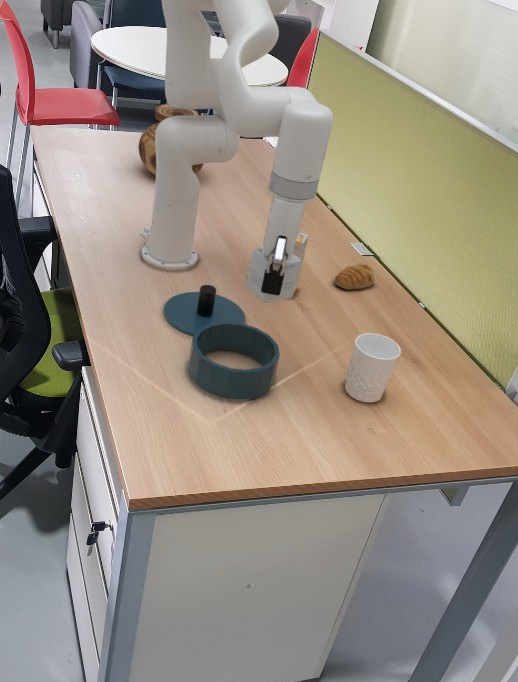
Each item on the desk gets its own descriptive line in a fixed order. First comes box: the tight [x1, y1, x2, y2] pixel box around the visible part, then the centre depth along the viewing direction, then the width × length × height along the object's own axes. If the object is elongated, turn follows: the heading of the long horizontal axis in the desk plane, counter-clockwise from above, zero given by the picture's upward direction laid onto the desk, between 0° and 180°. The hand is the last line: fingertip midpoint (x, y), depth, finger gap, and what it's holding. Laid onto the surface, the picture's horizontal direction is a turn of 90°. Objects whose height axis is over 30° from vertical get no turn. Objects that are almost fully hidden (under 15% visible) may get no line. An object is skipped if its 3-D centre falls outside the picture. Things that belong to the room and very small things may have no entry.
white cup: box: [344, 332, 402, 404], centre depth 131 cm, size 8×8×10 cm
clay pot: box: [138, 103, 205, 176], centre depth 203 cm, size 19×19×20 cm
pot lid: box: [163, 284, 246, 337], centre depth 146 cm, size 16×16×7 cm
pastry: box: [334, 262, 376, 291], centre depth 166 cm, size 9×7×4 cm
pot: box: [188, 322, 281, 402], centre depth 132 cm, size 15×15×6 cm
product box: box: [245, 247, 301, 304], centre depth 126 cm, size 6×6×7 cm
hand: (272, 280), depth 127 cm, fingers closed on product box, 8 cm apart
